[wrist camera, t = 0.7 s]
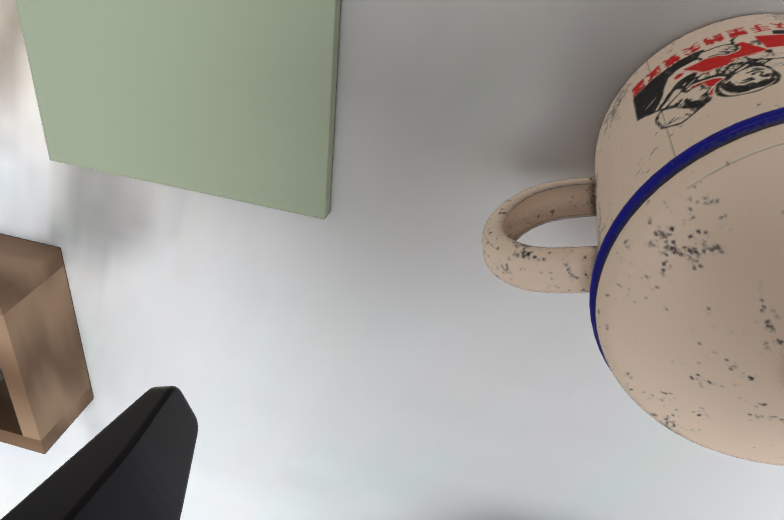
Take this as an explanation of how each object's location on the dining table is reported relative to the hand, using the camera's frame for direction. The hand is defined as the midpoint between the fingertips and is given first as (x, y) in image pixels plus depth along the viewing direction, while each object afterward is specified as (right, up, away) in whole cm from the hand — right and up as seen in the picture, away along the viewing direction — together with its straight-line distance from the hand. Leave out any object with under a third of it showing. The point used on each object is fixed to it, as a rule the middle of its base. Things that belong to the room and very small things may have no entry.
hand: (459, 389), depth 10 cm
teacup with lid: (+9, +5, +12) cm, 16 cm away
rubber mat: (-9, +10, +14) cm, 19 cm away
